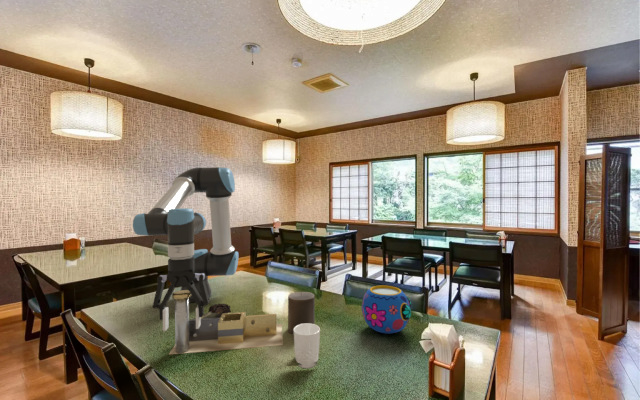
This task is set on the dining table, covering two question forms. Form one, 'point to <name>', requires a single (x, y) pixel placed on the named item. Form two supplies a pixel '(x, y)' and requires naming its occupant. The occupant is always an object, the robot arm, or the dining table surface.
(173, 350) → the mounting board
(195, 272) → the robot arm
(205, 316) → the branch with fungus
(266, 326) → the hinge
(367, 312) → the ceramic pot
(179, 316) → the hinge pin
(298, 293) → the pillar candle
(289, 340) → the dining table surface
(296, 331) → the white cup
